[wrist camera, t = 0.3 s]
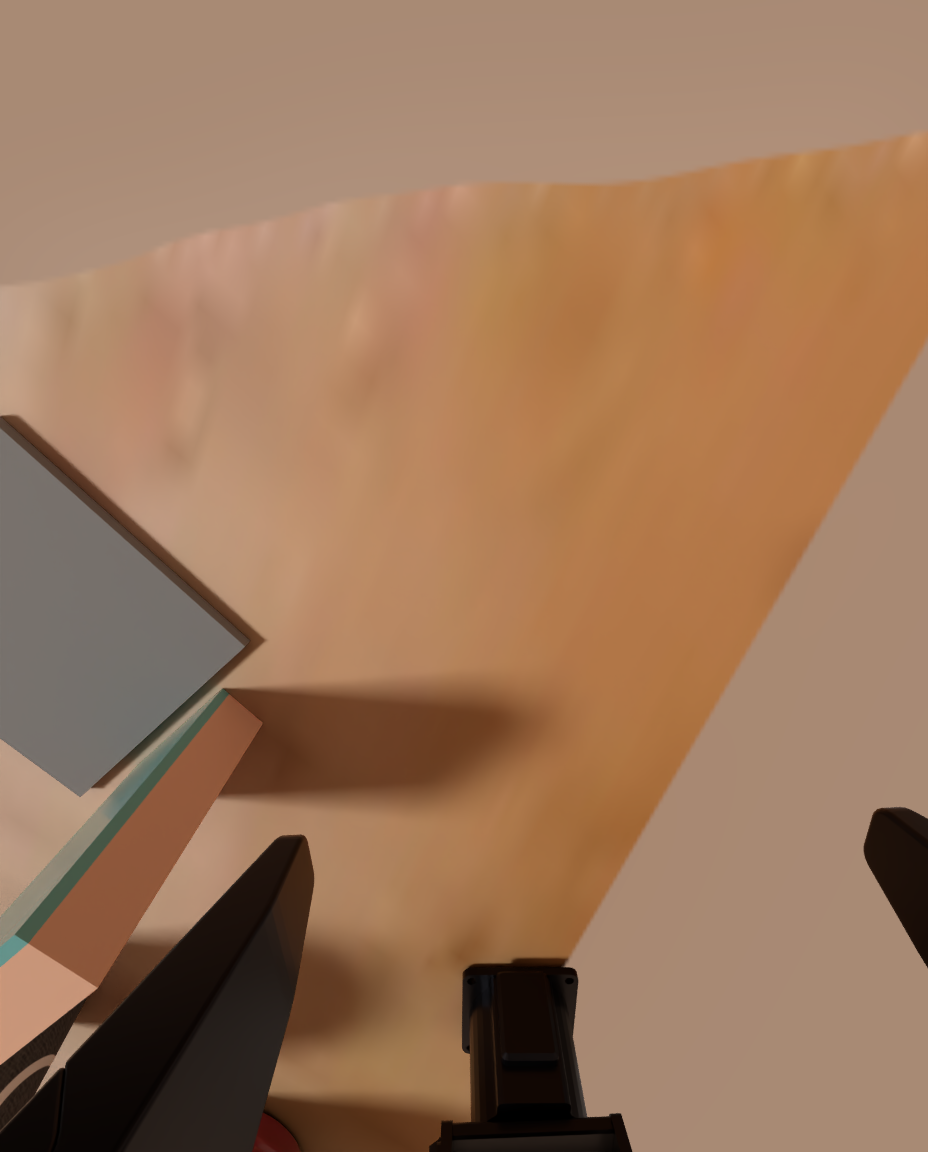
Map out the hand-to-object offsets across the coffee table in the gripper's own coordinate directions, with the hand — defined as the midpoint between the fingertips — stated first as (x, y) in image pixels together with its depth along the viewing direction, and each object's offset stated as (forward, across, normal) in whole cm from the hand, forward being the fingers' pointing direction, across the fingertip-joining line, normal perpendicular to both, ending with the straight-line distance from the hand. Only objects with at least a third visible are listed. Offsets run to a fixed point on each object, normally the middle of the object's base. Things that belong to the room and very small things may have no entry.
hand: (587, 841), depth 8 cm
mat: (+15, +20, +2) cm, 25 cm away
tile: (+15, +15, +9) cm, 23 cm away
